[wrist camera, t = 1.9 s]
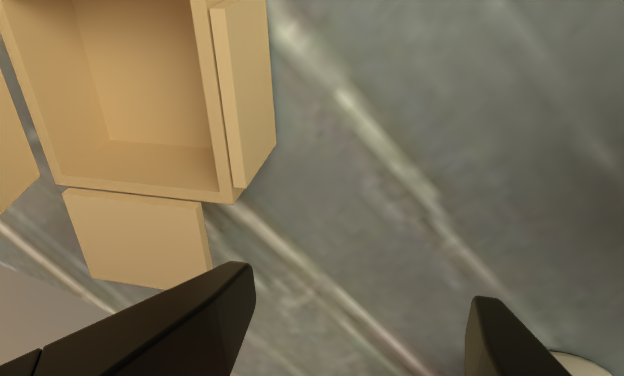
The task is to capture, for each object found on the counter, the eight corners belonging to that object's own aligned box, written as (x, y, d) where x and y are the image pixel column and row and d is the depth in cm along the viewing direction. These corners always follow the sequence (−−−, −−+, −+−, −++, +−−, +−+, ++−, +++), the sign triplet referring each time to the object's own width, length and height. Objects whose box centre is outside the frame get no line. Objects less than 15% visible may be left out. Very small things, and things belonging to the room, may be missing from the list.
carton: (252, -203, 15) (187, -233, 11) (285, 240, 24) (255, 304, 20) (20, -183, 17) (-99, -203, 13) (132, 221, 26) (80, 276, 22)
